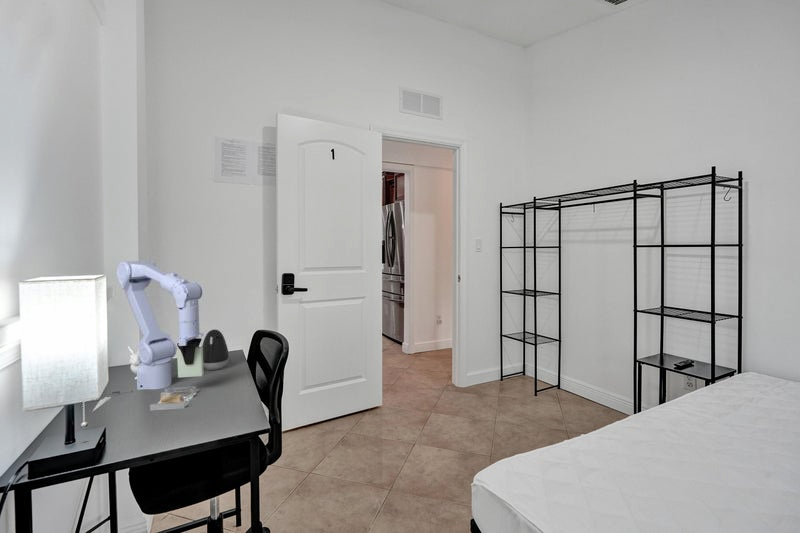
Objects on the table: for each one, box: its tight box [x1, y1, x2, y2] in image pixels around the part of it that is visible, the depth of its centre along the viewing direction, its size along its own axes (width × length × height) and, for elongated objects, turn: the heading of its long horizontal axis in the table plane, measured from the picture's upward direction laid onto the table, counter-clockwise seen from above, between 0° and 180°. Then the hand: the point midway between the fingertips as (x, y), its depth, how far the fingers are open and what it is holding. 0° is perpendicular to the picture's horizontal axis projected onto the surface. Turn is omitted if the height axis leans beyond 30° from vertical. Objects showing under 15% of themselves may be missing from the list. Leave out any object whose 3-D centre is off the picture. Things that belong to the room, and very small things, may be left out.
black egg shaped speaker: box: [201, 328, 230, 371], centre depth 159 cm, size 10×10×15 cm
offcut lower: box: [157, 398, 184, 404], centre depth 121 cm, size 6×3×1 cm, turn 102°
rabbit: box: [127, 345, 143, 380], centre depth 149 cm, size 12×9×12 cm
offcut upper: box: [160, 395, 182, 403], centre depth 121 cm, size 5×2×1 cm, turn 102°
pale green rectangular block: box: [176, 346, 205, 378], centre depth 131 cm, size 7×2×9 cm, turn 101°
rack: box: [149, 385, 200, 411], centre depth 126 cm, size 9×16×3 cm, turn 12°
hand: (190, 363), depth 131 cm, fingers closed on pale green rectangular block, 2 cm apart
